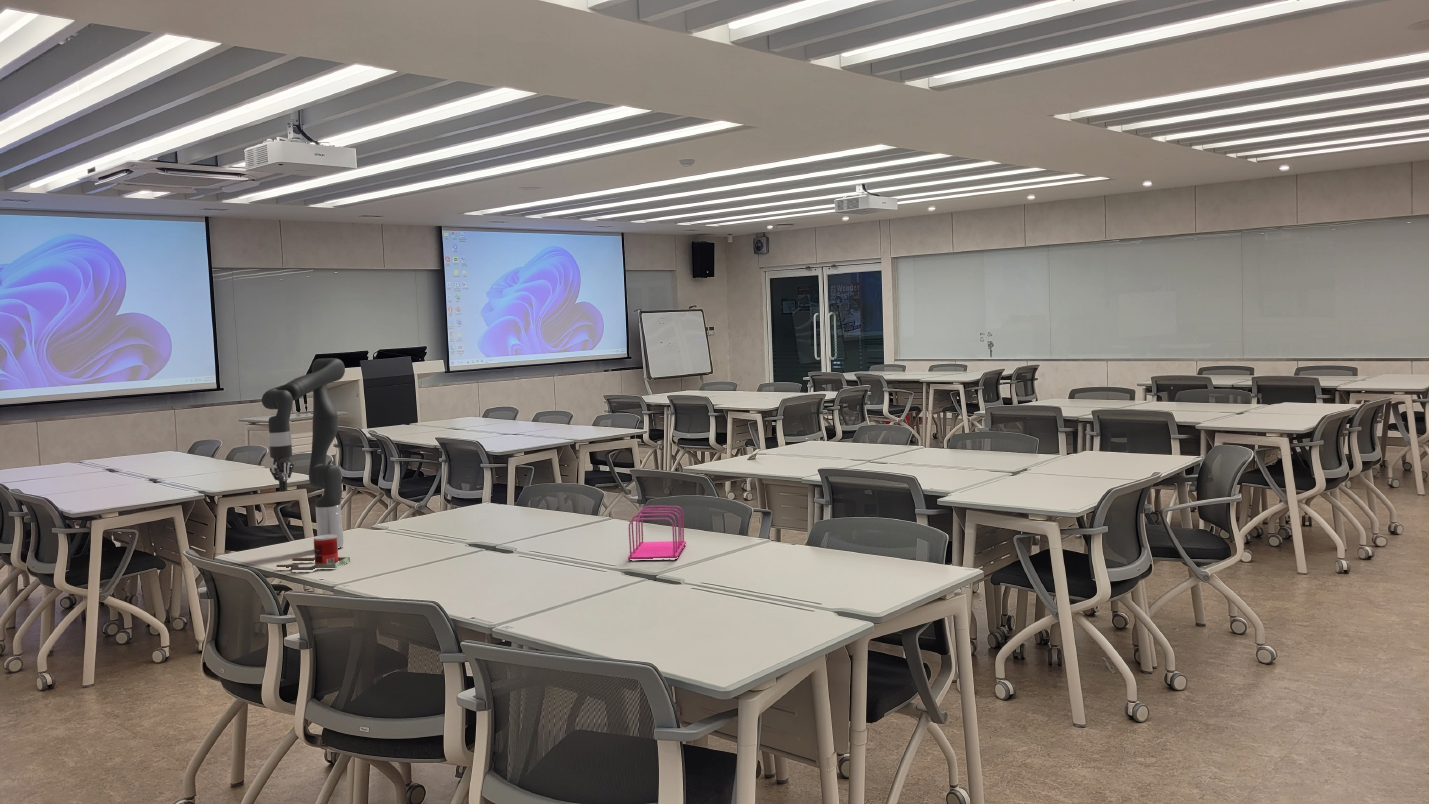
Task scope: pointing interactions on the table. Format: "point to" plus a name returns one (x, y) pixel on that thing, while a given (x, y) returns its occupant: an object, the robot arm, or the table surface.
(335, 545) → the canned food
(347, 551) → the table surface
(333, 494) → the robot arm
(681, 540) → the file sorter
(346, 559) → the trap track
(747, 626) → the table surface
